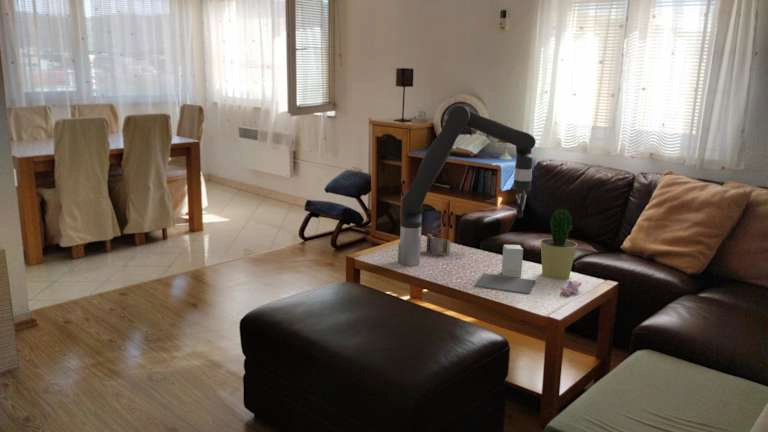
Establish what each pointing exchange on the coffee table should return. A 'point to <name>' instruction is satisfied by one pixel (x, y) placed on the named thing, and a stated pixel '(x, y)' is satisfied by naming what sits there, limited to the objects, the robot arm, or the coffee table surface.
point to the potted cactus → (558, 248)
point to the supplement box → (512, 260)
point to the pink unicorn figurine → (570, 288)
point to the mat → (505, 283)
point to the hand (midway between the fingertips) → (519, 217)
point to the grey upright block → (438, 245)
